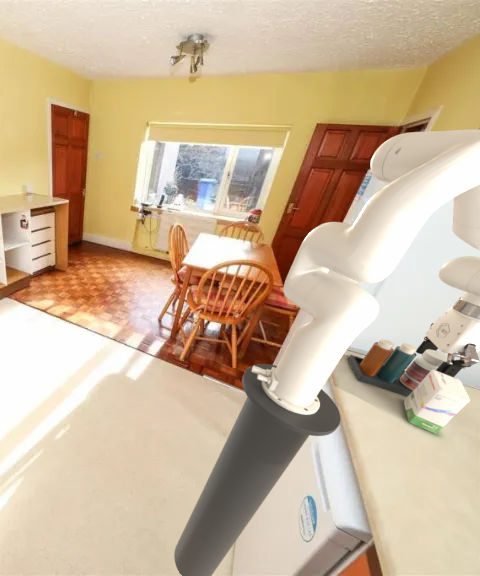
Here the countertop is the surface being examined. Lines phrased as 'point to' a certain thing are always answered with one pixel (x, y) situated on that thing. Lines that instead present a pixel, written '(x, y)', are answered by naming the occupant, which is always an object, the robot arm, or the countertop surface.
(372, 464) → the countertop surface
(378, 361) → the amber bottle
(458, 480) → the countertop surface
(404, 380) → the pill bottle
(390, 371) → the teal bottle
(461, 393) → the ink box
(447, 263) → the robot arm
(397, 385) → the tray
